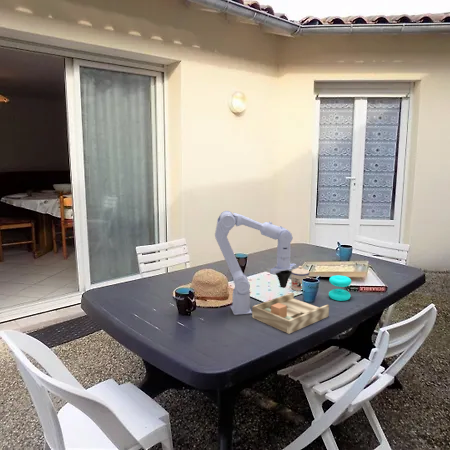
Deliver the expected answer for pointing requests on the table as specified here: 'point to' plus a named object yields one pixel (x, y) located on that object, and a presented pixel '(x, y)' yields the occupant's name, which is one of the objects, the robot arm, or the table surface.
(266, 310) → the trap box
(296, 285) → the teacup with lid
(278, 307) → the block
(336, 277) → the cyan spool
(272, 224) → the robot arm
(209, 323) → the table surface
